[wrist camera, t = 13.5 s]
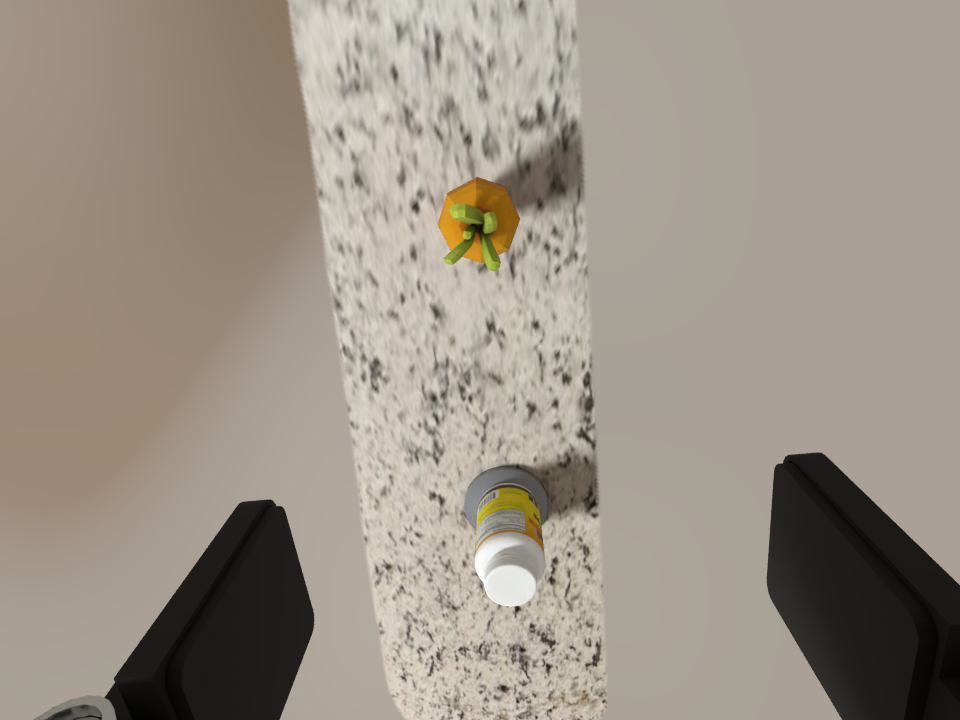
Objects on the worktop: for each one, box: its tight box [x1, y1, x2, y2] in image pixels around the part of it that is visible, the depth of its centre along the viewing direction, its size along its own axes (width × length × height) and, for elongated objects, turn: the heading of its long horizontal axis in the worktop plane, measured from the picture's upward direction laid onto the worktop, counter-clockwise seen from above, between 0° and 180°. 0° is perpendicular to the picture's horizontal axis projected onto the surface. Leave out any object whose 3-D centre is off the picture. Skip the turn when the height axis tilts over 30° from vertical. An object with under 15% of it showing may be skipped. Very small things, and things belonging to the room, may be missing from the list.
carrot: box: [438, 177, 520, 271], centre depth 37 cm, size 5×5×15 cm
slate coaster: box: [465, 467, 548, 530], centre depth 53 cm, size 8×8×1 cm
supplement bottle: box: [475, 483, 545, 606], centre depth 48 cm, size 6×6×10 cm
